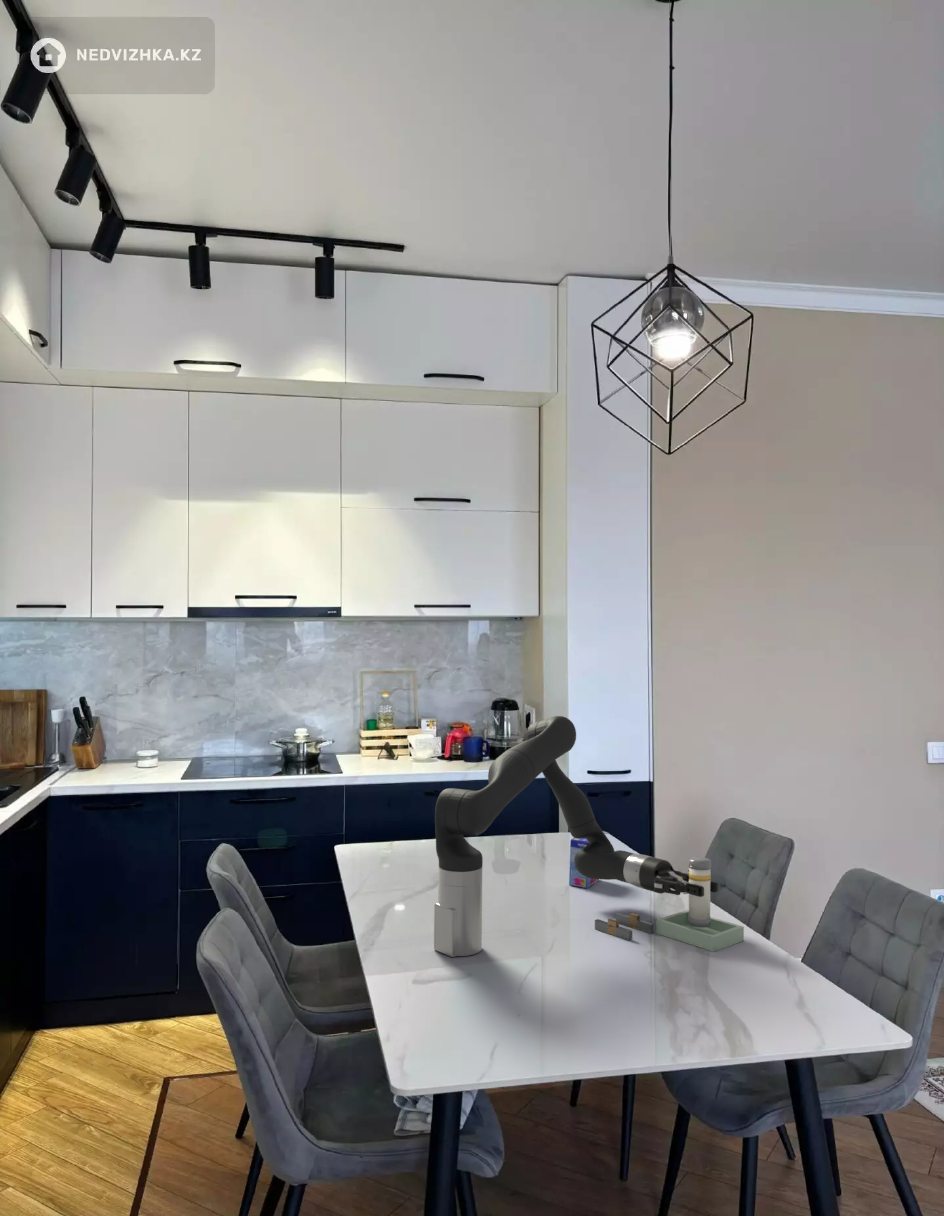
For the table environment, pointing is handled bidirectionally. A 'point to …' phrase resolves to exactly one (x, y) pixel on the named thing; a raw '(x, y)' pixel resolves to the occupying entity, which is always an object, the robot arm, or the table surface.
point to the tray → (700, 931)
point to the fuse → (701, 905)
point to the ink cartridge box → (574, 875)
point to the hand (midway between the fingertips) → (710, 889)
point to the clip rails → (630, 921)
